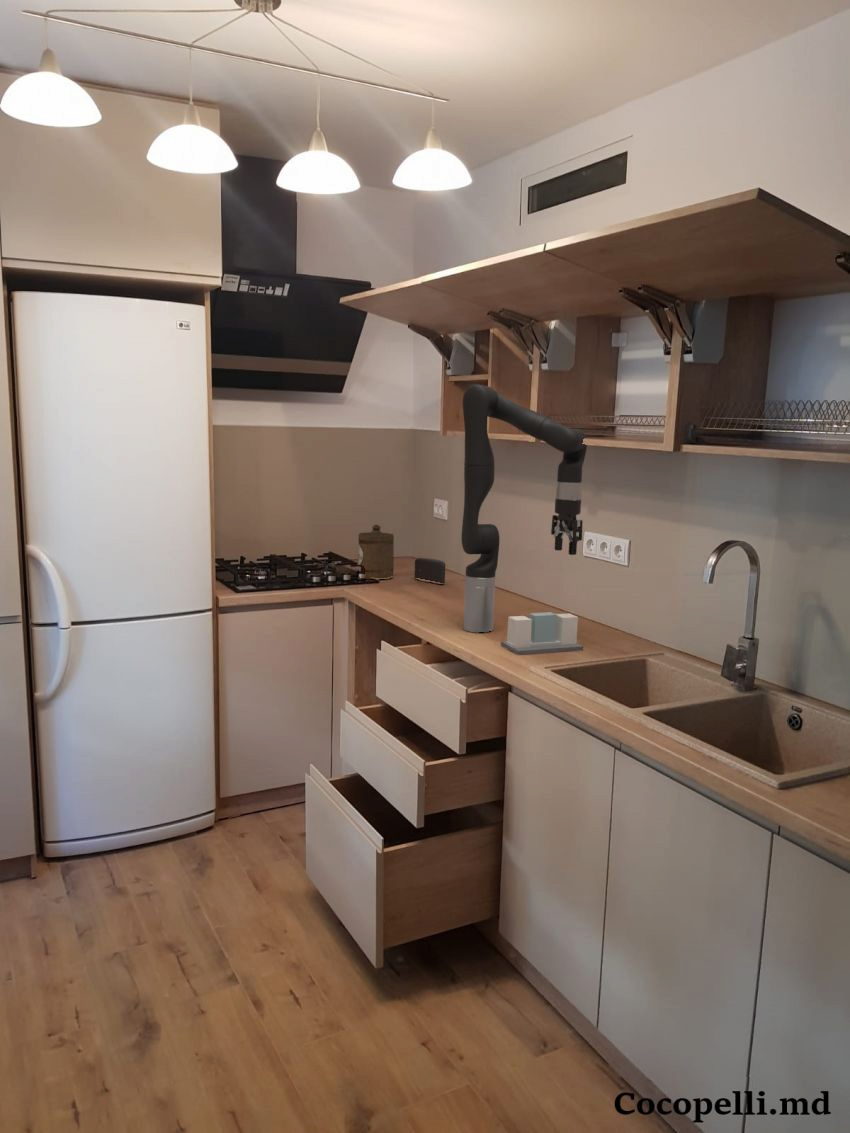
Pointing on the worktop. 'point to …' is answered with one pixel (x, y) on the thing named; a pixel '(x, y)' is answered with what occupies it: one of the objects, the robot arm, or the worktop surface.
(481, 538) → the robot arm
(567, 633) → the board
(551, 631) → the block
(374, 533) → the wooden container
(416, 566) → the upright dark grey panel
